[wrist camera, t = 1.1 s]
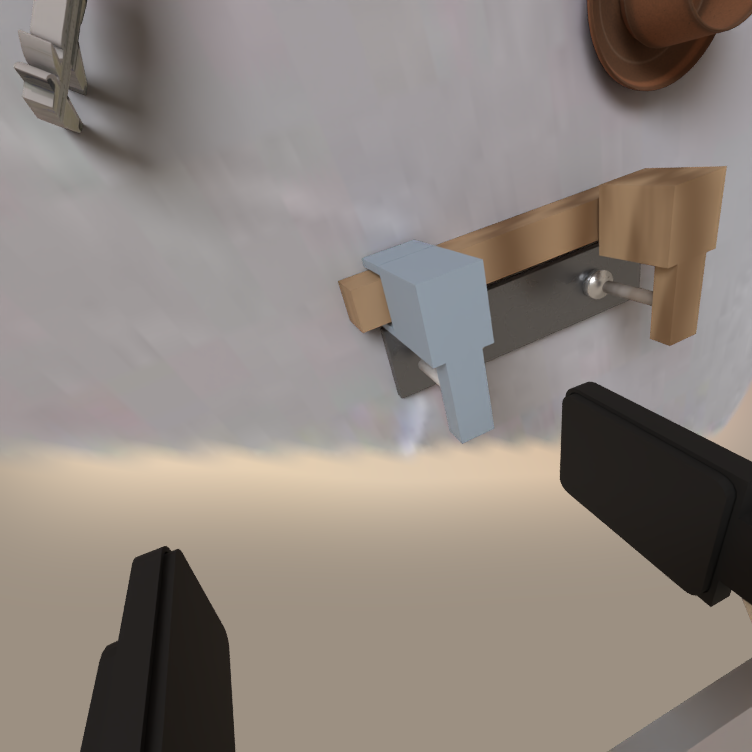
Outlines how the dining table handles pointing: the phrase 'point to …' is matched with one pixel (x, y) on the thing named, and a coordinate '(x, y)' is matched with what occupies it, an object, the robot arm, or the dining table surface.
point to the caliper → (53, 61)
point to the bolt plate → (530, 308)
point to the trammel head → (442, 324)
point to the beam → (616, 240)
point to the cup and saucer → (658, 36)
